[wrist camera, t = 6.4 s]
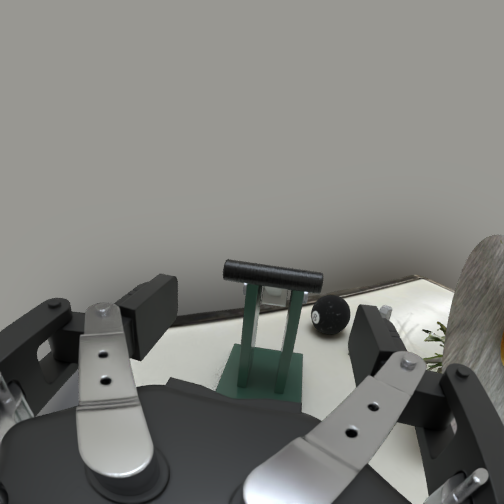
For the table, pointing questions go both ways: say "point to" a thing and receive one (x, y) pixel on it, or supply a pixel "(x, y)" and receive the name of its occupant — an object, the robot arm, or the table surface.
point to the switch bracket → (264, 356)
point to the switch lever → (273, 279)
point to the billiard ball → (330, 314)
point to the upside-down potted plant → (477, 321)
